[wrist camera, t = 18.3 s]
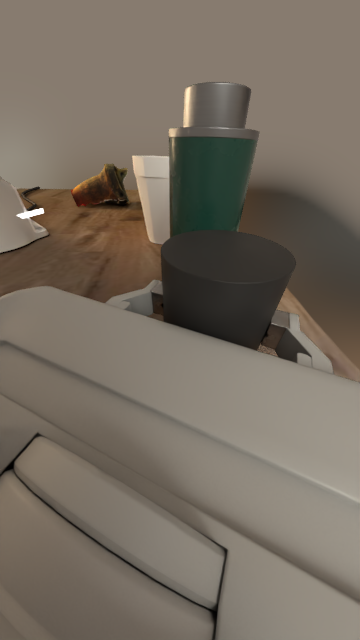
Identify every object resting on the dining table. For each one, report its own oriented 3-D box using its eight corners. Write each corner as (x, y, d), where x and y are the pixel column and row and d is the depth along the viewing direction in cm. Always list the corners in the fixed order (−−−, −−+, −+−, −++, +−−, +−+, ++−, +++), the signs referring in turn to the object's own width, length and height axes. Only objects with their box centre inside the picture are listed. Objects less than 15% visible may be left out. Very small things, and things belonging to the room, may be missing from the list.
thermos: (160, 290, 25) (150, 90, 14) (200, 276, 28) (219, 103, 17) (191, 319, 21) (213, 68, 10) (234, 299, 24) (290, 90, 13)
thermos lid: (150, 348, 16) (138, 240, 10) (209, 321, 19) (226, 224, 13) (199, 415, 12) (224, 302, 6) (264, 368, 15) (324, 258, 9)
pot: (65, 167, 60) (118, 145, 59) (88, 202, 70) (133, 183, 68) (64, 197, 52) (125, 172, 51) (90, 231, 62) (141, 211, 60)
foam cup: (191, 234, 42) (196, 157, 33) (178, 250, 35) (180, 158, 27) (152, 229, 44) (147, 155, 35) (133, 243, 37) (121, 155, 29)
